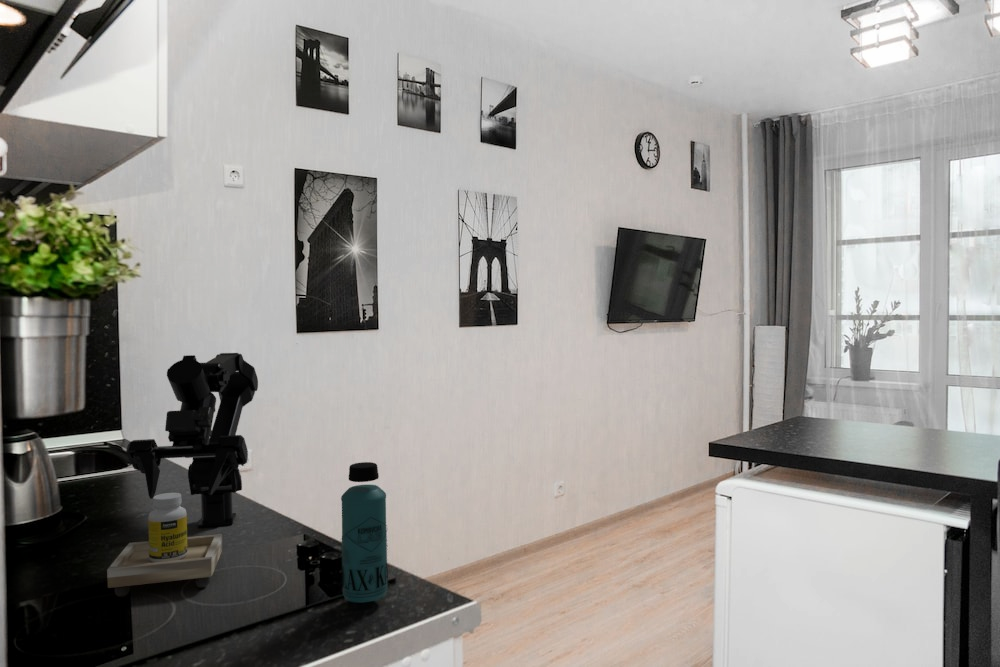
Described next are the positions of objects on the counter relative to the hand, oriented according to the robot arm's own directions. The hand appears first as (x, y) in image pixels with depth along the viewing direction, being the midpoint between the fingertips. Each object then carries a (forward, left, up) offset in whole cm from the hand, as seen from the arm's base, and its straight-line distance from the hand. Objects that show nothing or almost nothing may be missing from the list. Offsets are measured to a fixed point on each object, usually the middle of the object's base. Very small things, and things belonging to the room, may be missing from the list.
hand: (180, 495), depth 113 cm
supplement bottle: (+7, -1, -8) cm, 11 cm away
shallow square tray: (+7, -1, -11) cm, 14 cm away
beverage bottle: (+25, +28, -12) cm, 40 cm away
